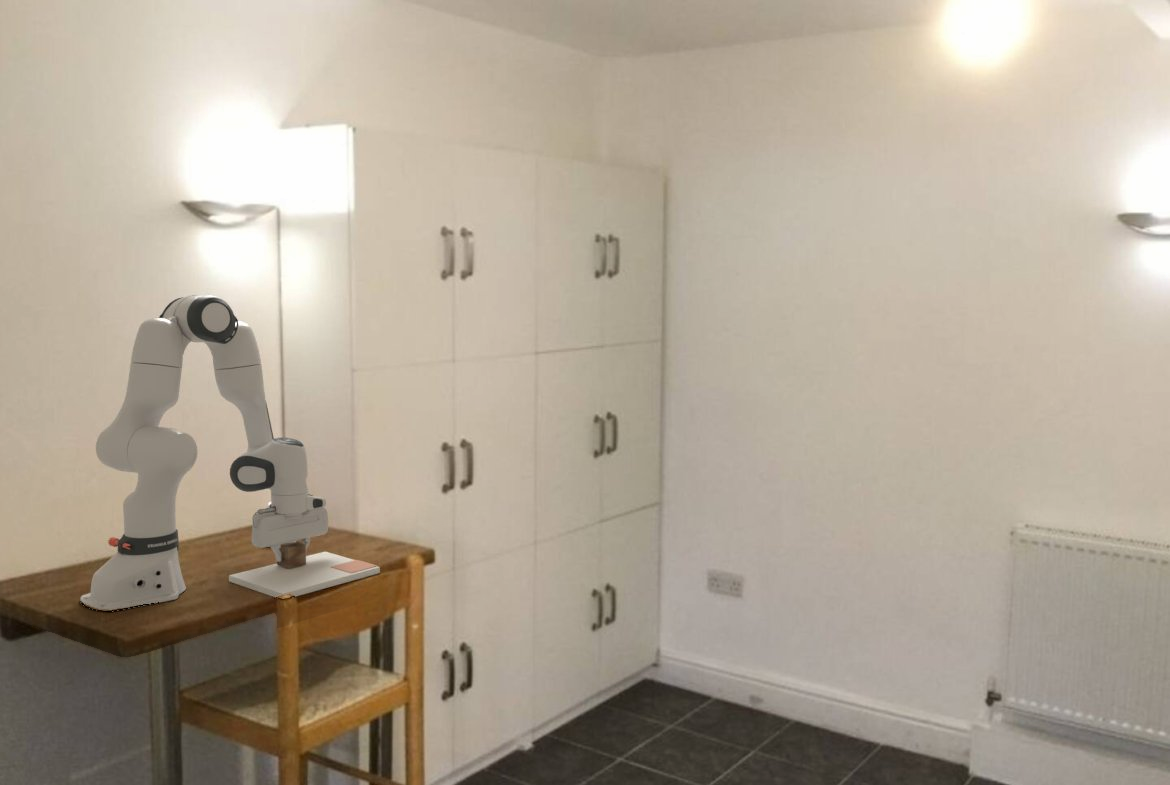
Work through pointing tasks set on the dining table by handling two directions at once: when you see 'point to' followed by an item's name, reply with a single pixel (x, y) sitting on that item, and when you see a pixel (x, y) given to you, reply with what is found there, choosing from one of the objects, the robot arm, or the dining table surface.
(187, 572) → the dining table surface
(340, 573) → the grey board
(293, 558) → the walnut cube
